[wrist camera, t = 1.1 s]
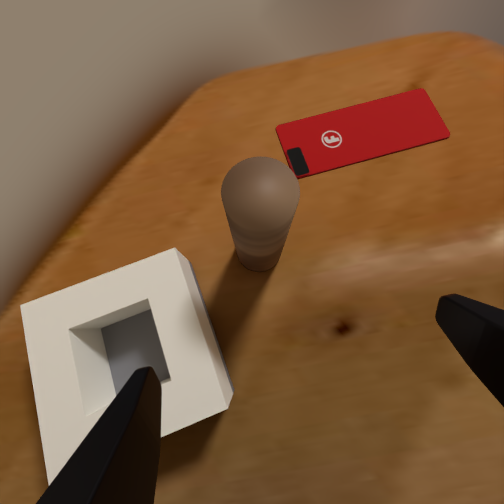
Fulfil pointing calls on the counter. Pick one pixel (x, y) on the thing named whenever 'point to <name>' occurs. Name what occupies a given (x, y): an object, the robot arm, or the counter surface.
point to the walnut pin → (260, 209)
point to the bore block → (122, 350)
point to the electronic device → (360, 132)
